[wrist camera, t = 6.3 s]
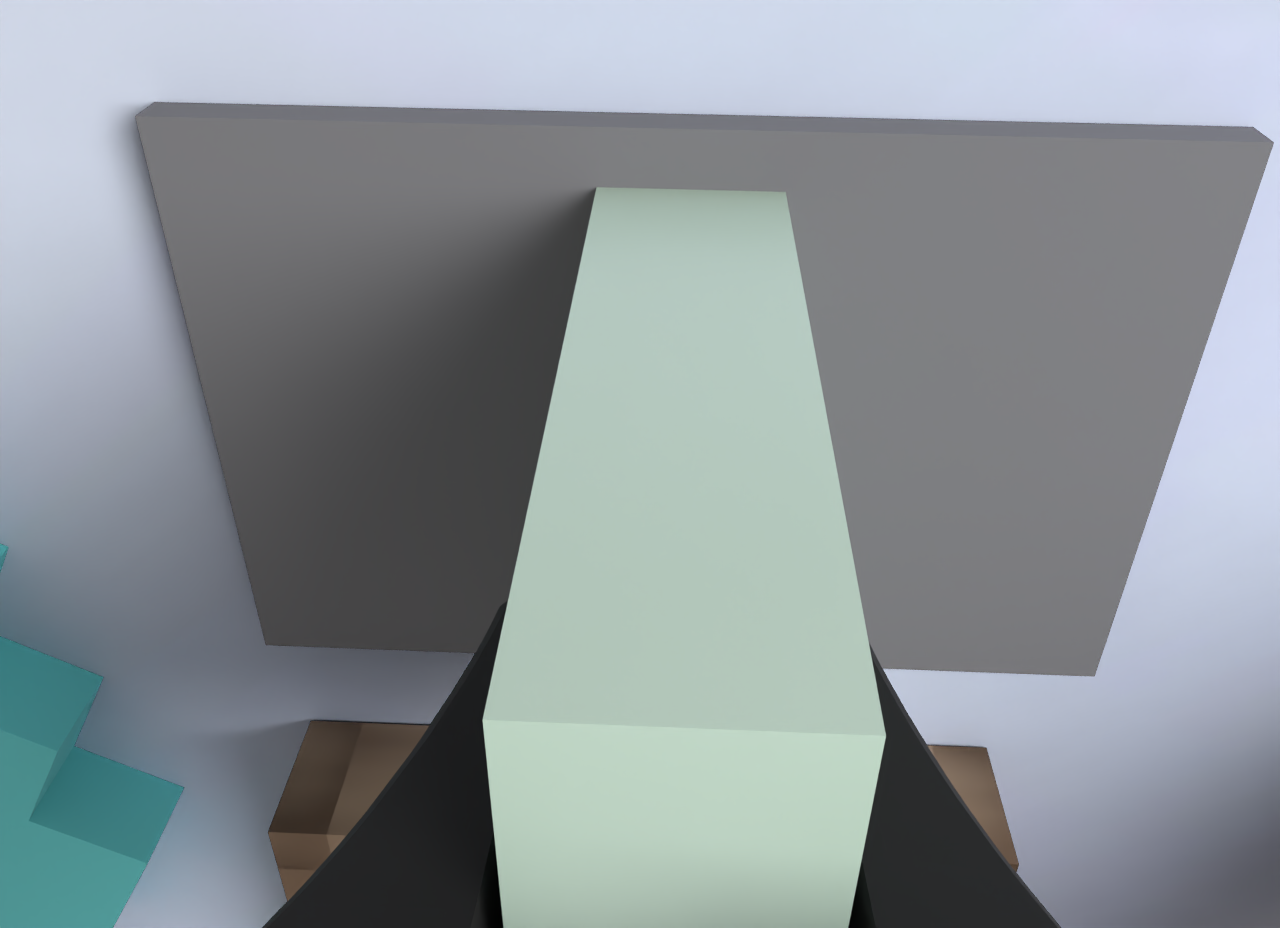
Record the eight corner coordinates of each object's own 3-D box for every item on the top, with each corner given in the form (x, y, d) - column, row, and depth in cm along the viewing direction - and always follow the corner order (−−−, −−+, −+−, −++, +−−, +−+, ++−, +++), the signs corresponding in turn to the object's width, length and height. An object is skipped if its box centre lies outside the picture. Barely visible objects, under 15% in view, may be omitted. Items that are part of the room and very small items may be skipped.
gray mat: (1253, 127, 14) (1273, 142, 13) (1084, 651, 19) (1094, 675, 18) (154, 101, 14) (134, 116, 14) (276, 621, 19) (265, 645, 19)
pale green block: (786, 191, 14) (886, 734, 7) (745, 653, 18) (777, 1286, 11) (596, 187, 14) (482, 719, 7) (601, 647, 19) (538, 1272, 11)
